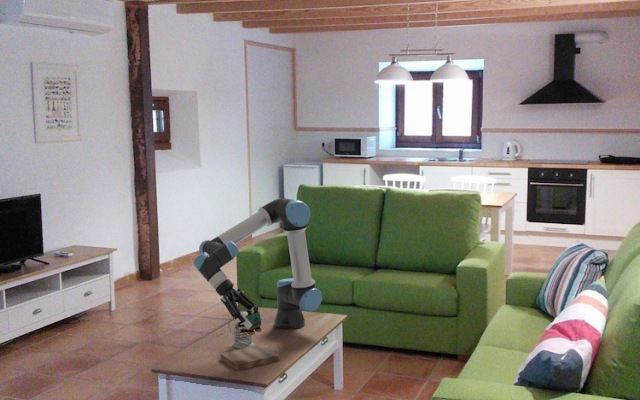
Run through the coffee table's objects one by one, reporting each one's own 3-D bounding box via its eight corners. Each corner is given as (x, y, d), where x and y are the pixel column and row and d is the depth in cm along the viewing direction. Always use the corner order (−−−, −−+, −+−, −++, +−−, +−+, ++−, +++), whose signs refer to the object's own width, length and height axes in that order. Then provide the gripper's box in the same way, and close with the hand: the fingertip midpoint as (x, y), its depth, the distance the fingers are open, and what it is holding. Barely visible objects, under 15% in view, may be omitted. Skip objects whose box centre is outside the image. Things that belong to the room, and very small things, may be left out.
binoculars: (244, 305, 297) (263, 306, 291) (247, 329, 297) (265, 330, 292) (231, 310, 289) (250, 311, 284) (234, 334, 290) (253, 336, 284)
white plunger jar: (250, 348, 306) (249, 294, 303) (225, 347, 309) (224, 293, 306) (256, 341, 316) (255, 288, 313) (232, 340, 318) (231, 287, 315)
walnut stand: (261, 349, 305) (261, 344, 304) (279, 360, 291) (279, 354, 291) (220, 359, 294) (220, 353, 293) (237, 370, 280) (236, 364, 280)
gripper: (228, 283, 305) (261, 322, 301) (202, 295, 285) (237, 337, 281) (239, 272, 302) (272, 311, 298) (213, 284, 282) (248, 325, 278)
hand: (255, 324), depth 289 cm, fingers closed on binoculars, 9 cm apart
